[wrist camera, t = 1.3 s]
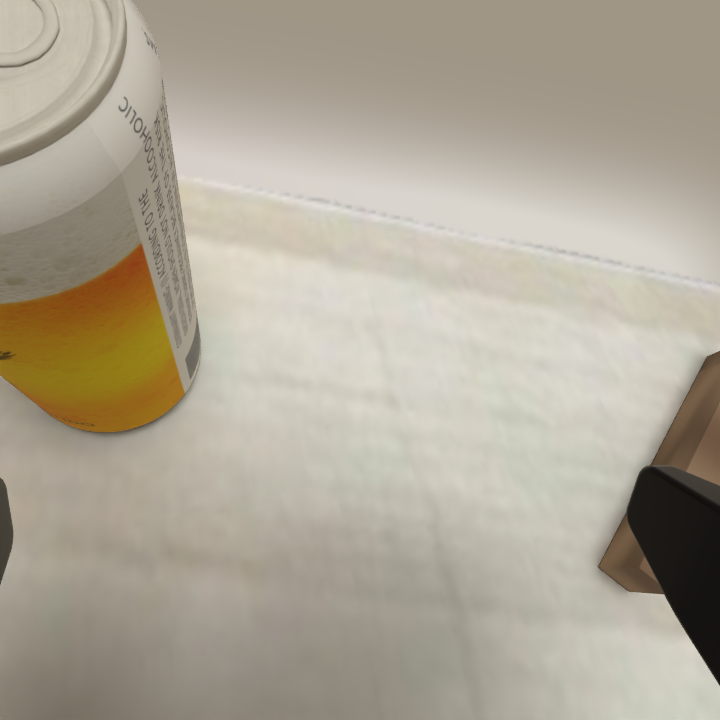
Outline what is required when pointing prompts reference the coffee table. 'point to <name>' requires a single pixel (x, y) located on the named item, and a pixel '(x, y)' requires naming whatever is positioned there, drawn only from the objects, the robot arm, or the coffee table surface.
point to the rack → (681, 450)
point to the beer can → (90, 218)
